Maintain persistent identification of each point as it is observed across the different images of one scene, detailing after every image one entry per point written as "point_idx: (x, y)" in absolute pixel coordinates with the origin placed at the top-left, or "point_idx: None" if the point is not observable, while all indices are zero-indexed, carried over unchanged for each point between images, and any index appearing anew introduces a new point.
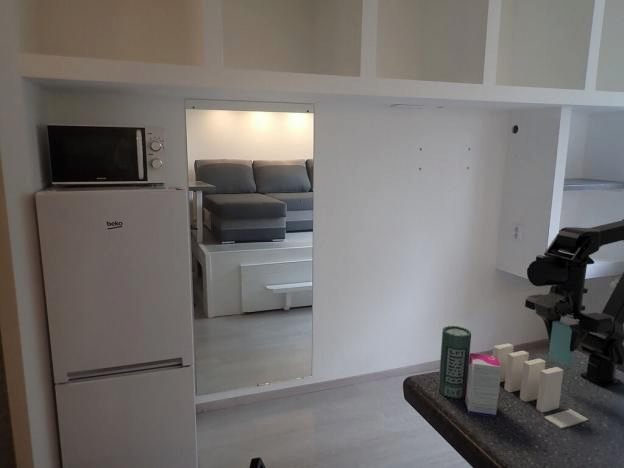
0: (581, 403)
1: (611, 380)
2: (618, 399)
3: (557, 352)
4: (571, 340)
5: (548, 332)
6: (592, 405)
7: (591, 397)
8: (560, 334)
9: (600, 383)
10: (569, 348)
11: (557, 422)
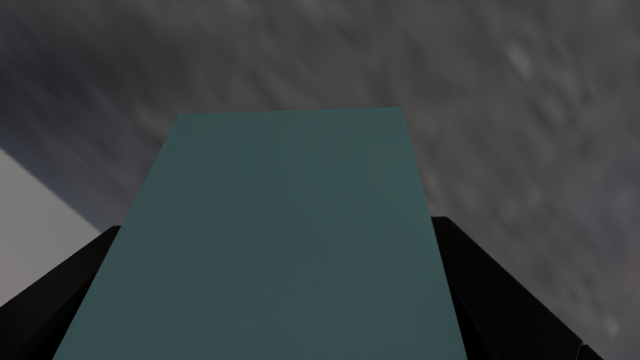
0: (101, 27)
1: None
2: None
3: (299, 156)
4: (25, 331)
5: (509, 301)
6: (72, 72)
7: (157, 144)
8: (269, 355)
9: None
10: (117, 234)
11: None
